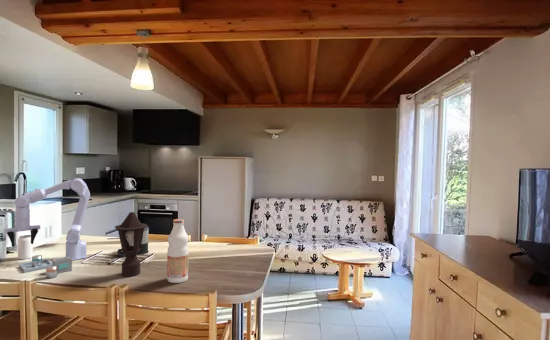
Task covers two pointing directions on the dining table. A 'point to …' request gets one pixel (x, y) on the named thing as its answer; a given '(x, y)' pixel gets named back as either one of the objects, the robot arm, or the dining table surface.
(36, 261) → the teal cartridge
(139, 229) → the lantern
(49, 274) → the terracotta cartridge
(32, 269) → the tray
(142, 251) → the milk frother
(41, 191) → the robot arm
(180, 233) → the fruit juice
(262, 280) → the dining table surface
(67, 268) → the wall unit
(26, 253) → the can
